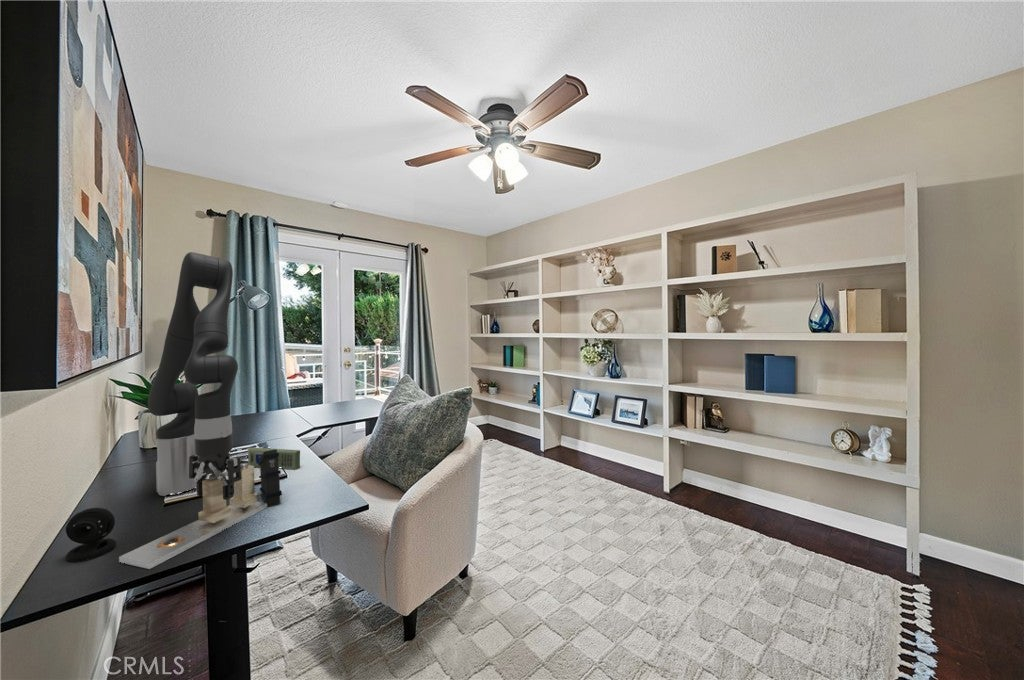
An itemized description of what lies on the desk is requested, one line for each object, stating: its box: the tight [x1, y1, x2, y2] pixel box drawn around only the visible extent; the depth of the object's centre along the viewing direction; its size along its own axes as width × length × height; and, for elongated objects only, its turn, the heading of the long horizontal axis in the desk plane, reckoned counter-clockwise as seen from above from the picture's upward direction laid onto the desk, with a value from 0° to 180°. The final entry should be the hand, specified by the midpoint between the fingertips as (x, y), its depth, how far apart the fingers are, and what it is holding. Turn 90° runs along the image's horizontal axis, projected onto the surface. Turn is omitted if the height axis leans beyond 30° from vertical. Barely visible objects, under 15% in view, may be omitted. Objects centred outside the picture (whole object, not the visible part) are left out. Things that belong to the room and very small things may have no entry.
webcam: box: [65, 507, 117, 563], centre depth 84 cm, size 8×8×10 cm
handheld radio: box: [240, 447, 301, 471], centre depth 137 cm, size 7×3×25 cm
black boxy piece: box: [258, 448, 283, 508], centre depth 111 cm, size 4×13×15 cm, turn 42°
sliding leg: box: [197, 474, 231, 523], centre depth 96 cm, size 5×4×12 cm
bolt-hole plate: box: [118, 463, 268, 570], centre depth 93 cm, size 9×28×13 cm, turn 165°
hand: (215, 496), depth 96 cm, fingers open, 8 cm apart
